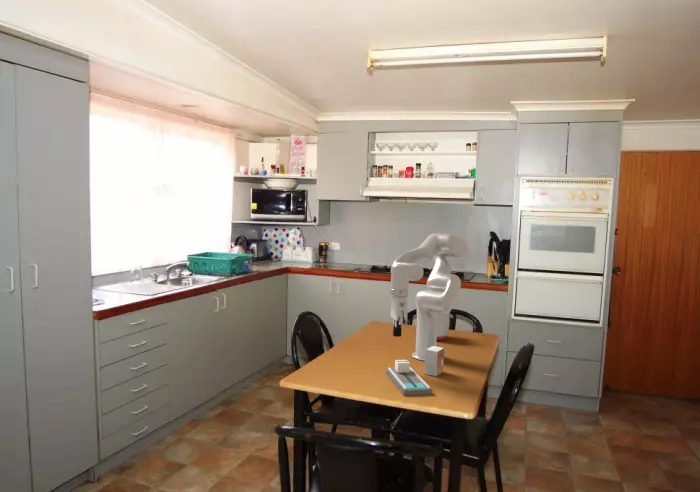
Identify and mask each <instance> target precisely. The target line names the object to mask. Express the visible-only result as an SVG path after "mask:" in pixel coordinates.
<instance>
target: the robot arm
mask: <svg viewBox="0 0 700 492" xmlns="http://www.w3.org/2000/svg"><path fill="white" fill-rule="evenodd" d="M468 250H469V247H468V243H467V241H466V240H464V239H463V238H461V237H459V236H457V235H456V234H451V233H440V232H437V233H436V232H434V233H431V234H430V235H428V236H427V237H426V239H425V240H424V241H423V242H422V243H421V244H420V245H419V246H418V247H416V248H414V249H411V250H409V251H407V252H404V253H402V254H401V255H399V256H398V257H397V258H396V259H395V260H394V262H393V263H392V265H391V267H390V292H389V293H390V294H389V296H390V297H391V300H390V302H391V304H390V317H391V318H392V321H393V322H392V323H393V324H392V325H393V328H392V336H394V337H396V338H397V337H398V338H399V337H402V327H403V324H404V322H407V321H408V298H409V283H410V282H409V281H413V282H415V281H416V282H417V281H419V280H421V279H422V278H423V275H424V267H423V266H422V265H425V264H429V263H431V262H433V260H434V265H433V268H432V270H431V272H430V274H429V276H428V278H427V281H426V288H427V289H423V290H419V291H418V292H416V295H415V299H414V300H415V307H416V331H415V332H416V333H415V351H414V352H412V353H411V356H412V358H414V359H415V360H418V361H424V362H425V350H426V349H428V348H430V347H432V346H436V347H437V341H438V340H437V318H436V315H435V313H434V312H437V313H444V314H446V313H449V312H450V313H451V311H452V309H453V308H454V305H455V303H456V301H457V298H458V295H459V293H460V290H461V286H462V281H461V279H460V277H459V276H458V275H456V274H453V273H452V270H453V269H452V265H451V263H450V261H449V259H448V258H447V257H452V258H459V259H460V258H464V257H465V256H467V254H468ZM446 354H447V349H444V355H446Z"/></svg>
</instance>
